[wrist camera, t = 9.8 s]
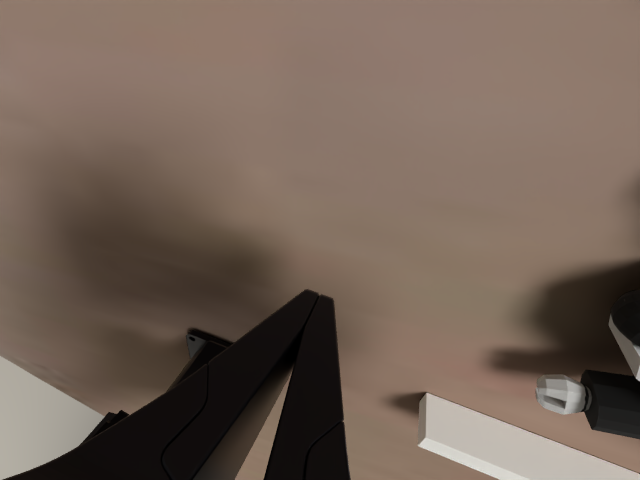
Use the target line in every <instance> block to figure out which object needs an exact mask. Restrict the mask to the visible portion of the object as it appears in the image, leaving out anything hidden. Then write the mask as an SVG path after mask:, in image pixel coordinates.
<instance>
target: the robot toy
mask: <svg viewBox="0 0 640 480" xmlns="http://www.w3.org/2000/svg"><path fill="white" fill-rule="evenodd" d="M610 313H611V315H610V320H609V324H608V325H609V327H610V329H611V331H612V333H613V335H614V337H615V339H616V341H617V343H618V345H619V347H620V349H621V351H622V353H623V354H624V356H625V358H626V360H627V362H628V364H629V366H630V368H631V370H632V372H633V374H634V376H629V375H622V374H614V373H607V372H600V371H592V370H585V371H584V373H583V374H582V378H581V382H578V381H576V380H573V379H571V378H569V377H567V376H565V375H563V374H552V375H543V376H541V377H540V378H539V379H537V387H538V388H536V399H537V401H538V402H539V403H540V404H541V405H542V407H543V408H546V409H548V410H551V411H554V412H557V413H560V414H570V413H577V412H585V415H586V417H587V419H588V422H589V424H590V426H591V429H592V430H597V431H602V432H607V433H612V434H617V435H622V436H627V437H632V438H636V439H640V290H634V291H631V292H627V293H625V294H624V295H622V296H621V297H620V298H619V299H618V300H617V301H616V302H615V304H614V305H613V306H612V308H611V312H610Z"/></svg>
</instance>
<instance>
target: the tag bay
mask: <svg viewBox="0 0 640 480" xmlns="http://www.w3.org/2000/svg"><path fill="white" fill-rule="evenodd" d="M418 446H419V447H422V448H424V449H427V450H429V451H432V452H434V453H436V454H439V455H441V456H444V457H446V458H449V459H451V460H453V461H456V462H458V463H461V464H463V465H466V466H468V467H470V468H473V469H475V470H478V471H480V472H483V473H485V474H488V475H490V476H492V477H495V478H497V479H500V480H640V474H639V473H636V472H634V471H631V470H628V469H626V468H623V467H620V466H618V465H615V464H613V463H610V462H607V461H605V460H602V459H599V458H597V457H594V456H592V455H589V454H586V453H584V452H581V451H579V450H576V449H573V448H571V447H568V446H565V445H563V444H560V443H558V442H555V441H552V440H550V439H547V438H544V437H542V436H539V435H537V434H534V433H531V432H529V431H526V430H524V429H521V428H518V427H516V426H513V425H510V424H508V423H505V422H503V421H500V420H497V419H495V418H492V417H489V416H487V415H484V414H482V413H479V412H476V411H474V410H471V409H469V408H466V407H463V406H461V405H458V404H455V403H453V402H450V401H448V400H445V399H442V398H440V397H437V396H434V395H432V394H429V393H426V394H425V395H424V397H423V398H422V399H421V400H420V402H419V426H418Z"/></svg>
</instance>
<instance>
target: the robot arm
mask: <svg viewBox="0 0 640 480" xmlns="http://www.w3.org/2000/svg"><path fill="white" fill-rule="evenodd" d="M186 338H187V344H188V349H189V354H190V361H189V362H188V364H187V365H186V366H185V368H184V369H183V370H182V372H181V373H180V374H179V376H178V377H177V378H176V380H175V381H174V382H173V384H172V385H171V386H170V388H169V389H168V390H167V392H166V393H164V394H163V395H161V396H160V397H158V398H157V399H155V400H153V401H152V402H150V403H149V404H147V405H146V406H144V407H142V408H141V409H139V410H137V411H136V412H134V413H132V414H131V415H129V414H127V413H126V412H124V411H122V410H120V411H119V413H118V414H114V413H111V412H108V414H107V415H106V416H105V417H104V419H103V420H102V421H101V422H100V423H99V424H98V425H97V426H96V428H95V429H94V430H93V431H92V432H91V433H90V434H89V436H88V437H87V438H86V439H85V440H84V441H83V442H82V443H81V444H80V445H79V446H78V447H76V448H75V449H73V450H71V451H70V452H68V453H66V454H64V455H62V456H60V457H58V458H56V459H54V460H52V461H50V462H48V463H46V464H43V465H41V466H39V467H36V468H34V469H31V470H29V471H26V472H23V473H21V474H18V475H15V476H12V477H9V478H6V479H3V480H234V479H235V478H236V476H237V474H238V472H239V470H240V468H241V466H242V464H243V462H244V461H245V459H246V457H247V455H248V453H249V451H250V449H251V447H252V446H253V444H254V442H255V440H256V438H257V436H258V434H259V432H260V430H261V429H262V427H263V425H264V423H265V421H266V419H267V417H268V415H269V414H270V412H271V410H272V408H273V406H274V404H275V402H276V400H277V399H278V397H279V395H280V393H281V391H282V389H283V387H284V385H285V383H286V382H287V380H288V378H289V376H290V374H291V372H292V375H291V378H290V382H289V386H288V390H287V393H286V397H285V401H284V405H283V409H282V412H281V416H280V420H279V424H278V427H277V431H276V435H275V439H274V443H273V446H272V450H271V454H270V458H269V461H268V465H267V469H266V473H265V477H264V480H351V478H350V472H349V465H348V456H347V447H346V437H345V425H344V422H343V420H344V415H343V403H342V391H341V379H340V367H339V355H338V343H337V331H336V319H335V307H334V300H333V298H331V297H328V296H325V295H322V294H321V295H320V296H319V294H318V293H317V292H314V291H311V290H309V289H306V290H304V291H303V292H301V293H300V294H299V295H297V296H296V297H295V298H293V299H292V300H291V301H289V302H288V303H287V304H285V305H284V306H283V307H281V308H280V309H279V310H277V311H276V312H275V313H273V314H272V315H271V316H269V317H268V318H267V319H265V320H264V321H263V322H261V323H260V324H259V325H257V326H256V327H255V328H253V329H252V330H251V331H249V332H248V333H247V334H245V335H244V336H243V337H241V338H240V339H239V340H237V341H236V342H235V343H233V344H232V345H231V344H228V343H226V342H223V341H220V340H218V339H215V338H213V337H210V336H208V335H205V334H203V333H200V332H198V331H195V330H190V331H189V332H188V334H187V335H186ZM292 370H293V371H292Z"/></svg>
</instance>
